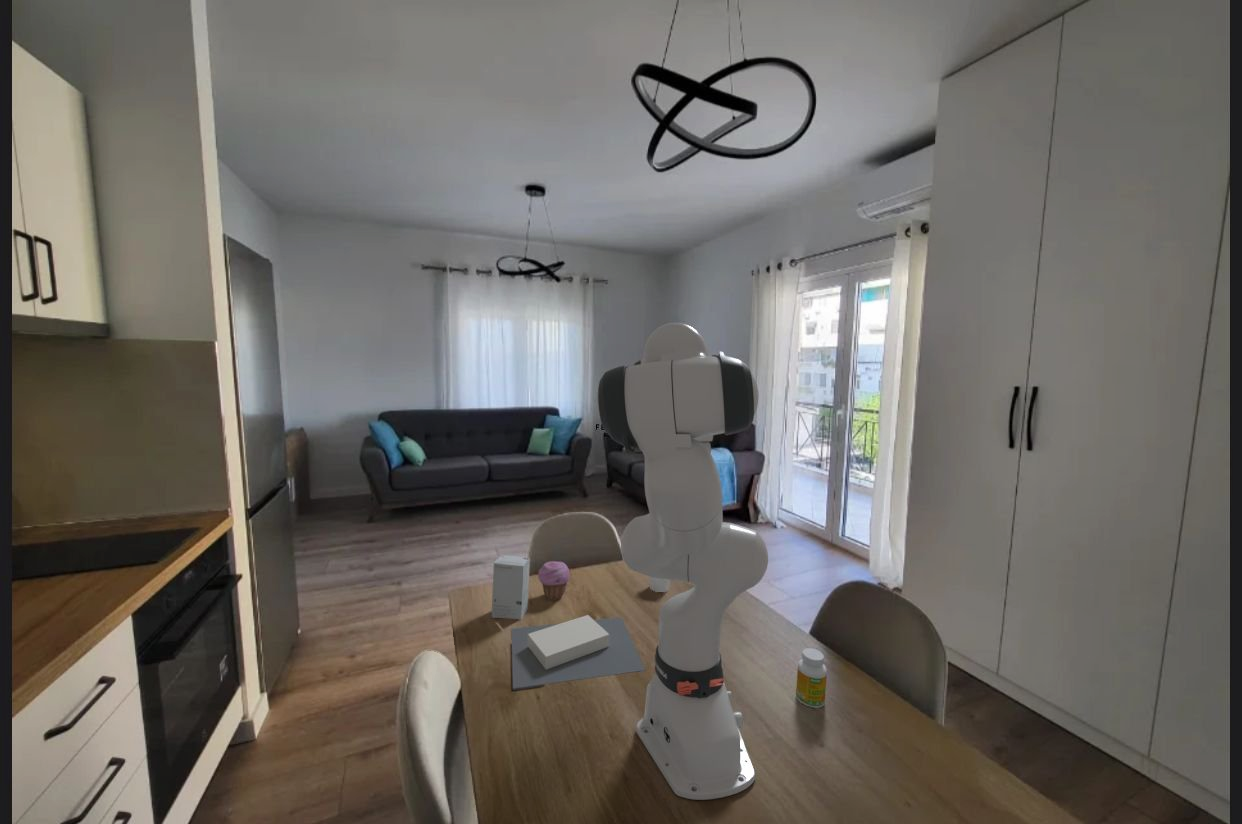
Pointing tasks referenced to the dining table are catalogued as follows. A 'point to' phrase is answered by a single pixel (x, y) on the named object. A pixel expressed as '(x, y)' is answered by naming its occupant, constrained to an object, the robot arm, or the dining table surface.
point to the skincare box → (510, 587)
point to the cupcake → (554, 579)
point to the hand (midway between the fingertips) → (684, 485)
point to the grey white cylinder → (659, 584)
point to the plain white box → (567, 641)
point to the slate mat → (595, 664)
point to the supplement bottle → (811, 678)
